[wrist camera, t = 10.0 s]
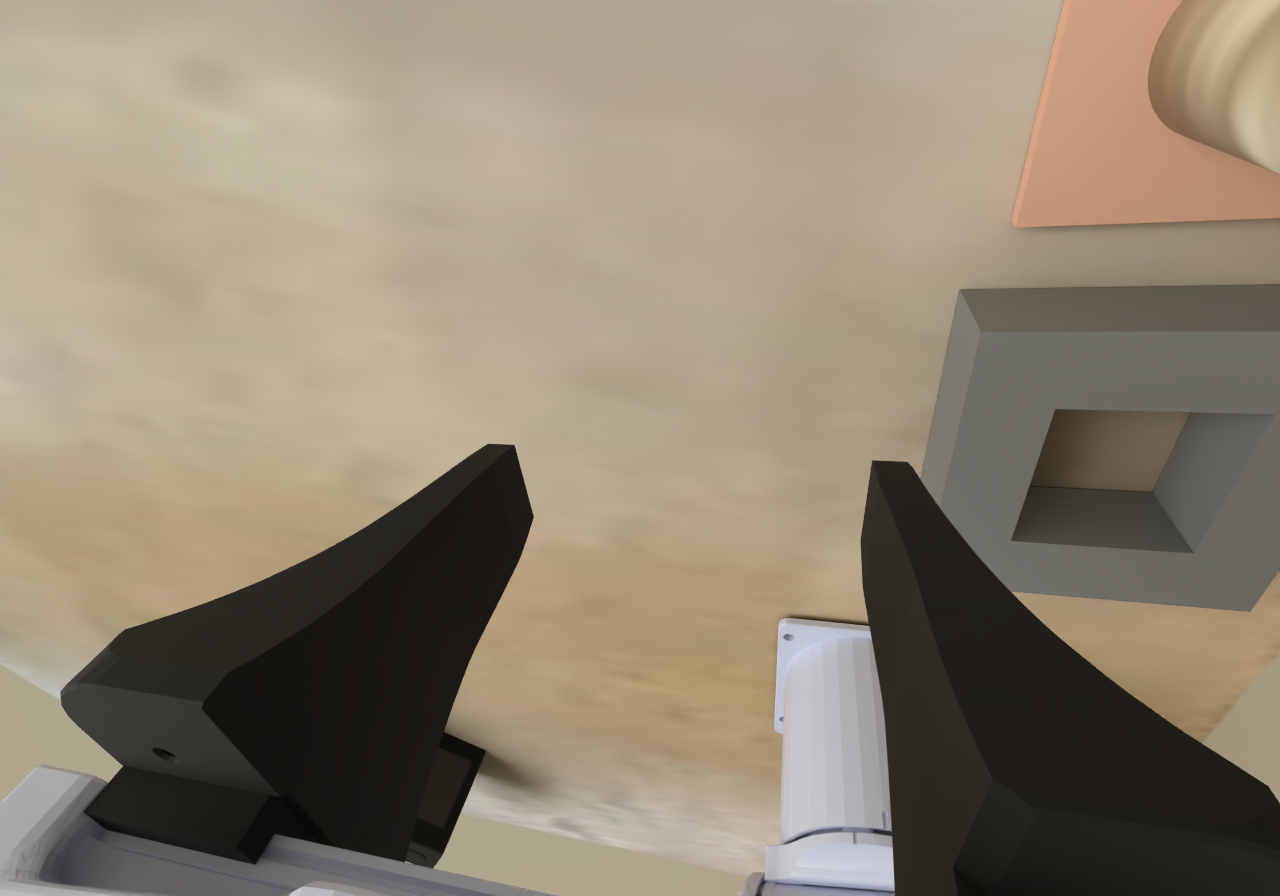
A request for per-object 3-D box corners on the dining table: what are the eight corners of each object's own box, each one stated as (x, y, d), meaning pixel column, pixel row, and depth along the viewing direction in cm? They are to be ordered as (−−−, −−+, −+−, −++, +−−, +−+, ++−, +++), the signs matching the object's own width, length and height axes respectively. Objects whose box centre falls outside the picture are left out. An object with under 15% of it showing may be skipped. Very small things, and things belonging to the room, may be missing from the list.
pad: (1355, 209, 16) (1369, 214, 16) (1011, 221, 18) (1015, 227, 17) (1601, -242, 11) (1629, -250, 11) (1103, -162, 13) (1111, -167, 13)
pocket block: (1203, 546, 23) (1249, 611, 20) (910, 527, 25) (921, 584, 23) (1358, 283, 17) (1449, 330, 15) (959, 289, 19) (981, 331, 17)
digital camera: (492, 743, 44) (448, 851, 39) (474, 771, 47) (431, 874, 42) (355, 684, 43) (290, 786, 38) (347, 717, 47) (286, 815, 41)
